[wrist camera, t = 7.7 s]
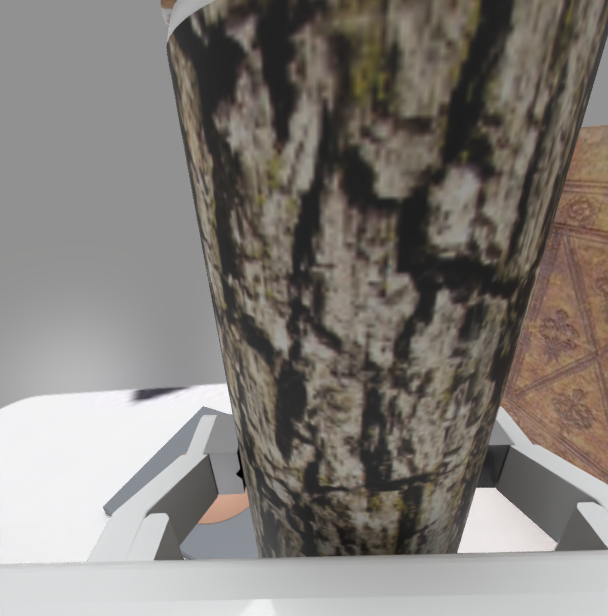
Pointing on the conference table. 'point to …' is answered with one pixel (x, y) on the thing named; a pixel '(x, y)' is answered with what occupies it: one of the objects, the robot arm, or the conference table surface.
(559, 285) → the book
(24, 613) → the robot arm
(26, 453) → the conference table surface
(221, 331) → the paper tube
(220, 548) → the card
